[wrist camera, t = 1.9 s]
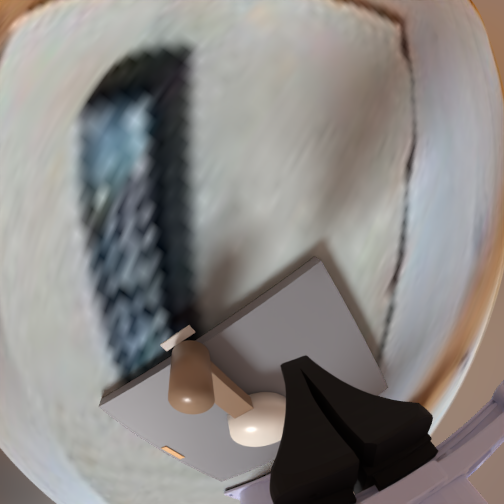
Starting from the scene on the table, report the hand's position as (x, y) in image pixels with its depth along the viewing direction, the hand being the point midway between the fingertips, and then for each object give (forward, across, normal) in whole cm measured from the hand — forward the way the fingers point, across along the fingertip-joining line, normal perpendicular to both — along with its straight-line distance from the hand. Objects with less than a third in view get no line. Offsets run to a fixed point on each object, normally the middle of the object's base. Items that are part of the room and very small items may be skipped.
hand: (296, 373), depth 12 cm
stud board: (+6, +3, +8) cm, 10 cm away
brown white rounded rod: (+5, +4, +4) cm, 7 cm away
